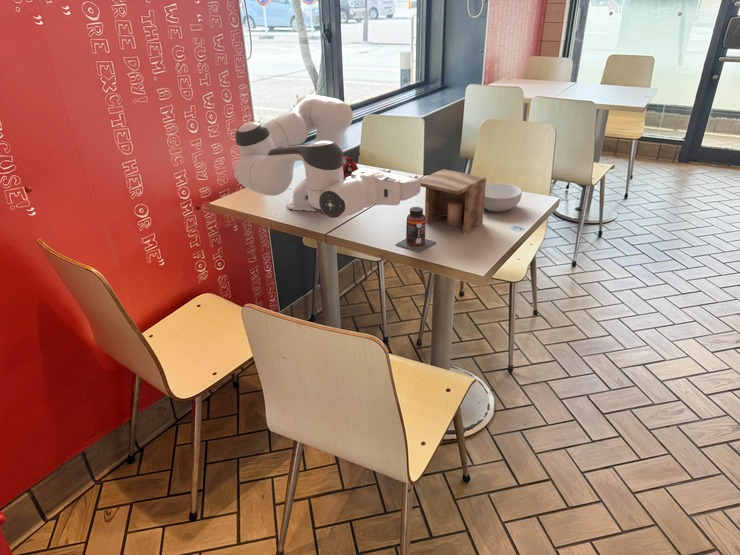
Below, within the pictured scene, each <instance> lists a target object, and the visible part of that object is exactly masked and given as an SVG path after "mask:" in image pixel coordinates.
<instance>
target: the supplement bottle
mask: <svg viewBox="0 0 740 555" xmlns="http://www.w3.org/2000/svg"><path fill="white" fill-rule="evenodd" d="M426 224H427V223H426V217H425V214H424V209H423V208H422V207H420V206H412V207H410V208H409V214H408V215H407V216H406V226H405V227H406V232H405V233H406V236H405V237H406V238H405V239H406V242H407V244H409V245H412V246H420V245H423V244H424V243H425V239H426V230H427V229H426V228H427V225H426Z"/></svg>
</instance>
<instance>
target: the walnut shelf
mask: <svg viewBox="0 0 740 555" xmlns="http://www.w3.org/2000/svg"><path fill="white" fill-rule="evenodd" d="M418 179H419V178H418ZM419 180H420V182H421V188H425V201H424V202H425V204H424V215H425V217H426V224H428V223H430V221H431V222H433V221H434V220H436V219H439V218H440V217H442V216H443V217H444V216H445V217H447V215H448V202H450V201H461V202H463V213H462V221H463V228H462V230H463V231H462V233H463V234H468V233H470V232H471V231H473V230H475V229H476V228H478V227H479V226H481V225H482V224H484V223H483V222H484V209H485V208H484V198H485V186H486V183H487V182H486V181H487V177H486V176H481V175H476V174H470V173H466V172H461V171H455V170H450V169H445V168H443V169H440V170H438V171H435V172H433V173H431V174H428V175H426V176H424V177H421V178H420V179H419ZM469 231H470V232H469Z"/></svg>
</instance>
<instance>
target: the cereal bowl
mask: <svg viewBox="0 0 740 555" xmlns="http://www.w3.org/2000/svg"><path fill="white" fill-rule="evenodd" d="M522 195H523V194H522V189H521V188H520V187H519V186H517V185H513V184H511V183H505V182H504V183H503V182H486V186H485V198H484V209H486V211H489V212H493V211H494V213H501V212H506V211H507V210H511V209H513V208H515V207H516V206H517V205H519V203H520V201H521V199H522Z"/></svg>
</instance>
